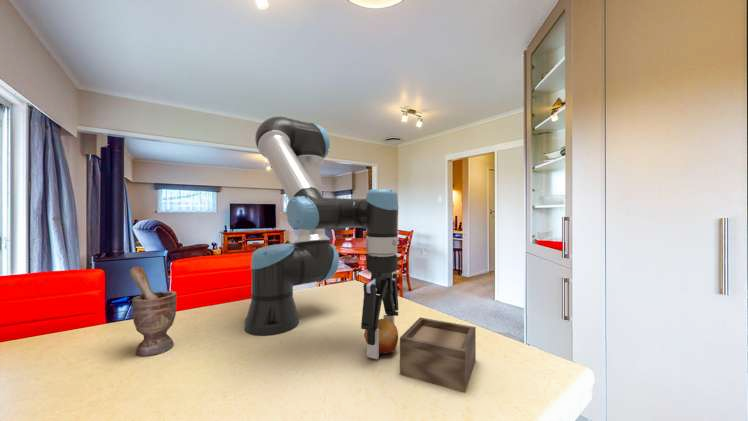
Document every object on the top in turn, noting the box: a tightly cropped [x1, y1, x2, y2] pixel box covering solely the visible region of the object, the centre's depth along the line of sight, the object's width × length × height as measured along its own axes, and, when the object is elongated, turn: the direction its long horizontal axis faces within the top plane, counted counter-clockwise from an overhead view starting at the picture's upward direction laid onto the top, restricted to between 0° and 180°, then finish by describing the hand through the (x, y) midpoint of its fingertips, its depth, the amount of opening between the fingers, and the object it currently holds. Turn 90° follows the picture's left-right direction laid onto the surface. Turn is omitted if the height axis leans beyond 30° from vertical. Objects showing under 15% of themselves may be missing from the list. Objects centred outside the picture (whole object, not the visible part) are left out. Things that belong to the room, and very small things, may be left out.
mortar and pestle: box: [129, 265, 178, 357], centre depth 70 cm, size 12×9×20 cm
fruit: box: [363, 318, 399, 354], centre depth 70 cm, size 8×8×8 cm
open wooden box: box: [399, 316, 477, 393], centre depth 62 cm, size 13×13×8 cm
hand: (381, 348), depth 69 cm, fingers closed on fruit, 8 cm apart
